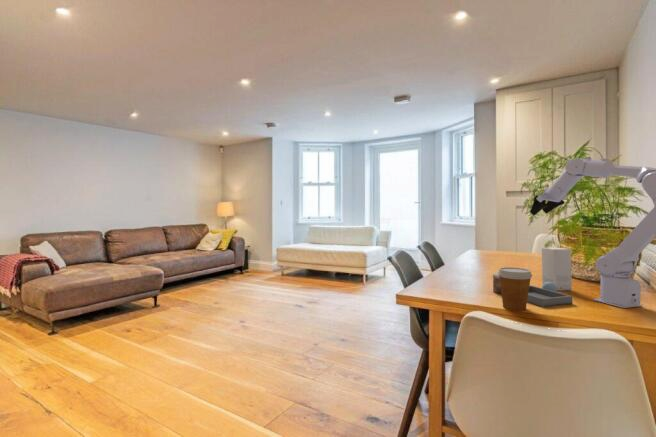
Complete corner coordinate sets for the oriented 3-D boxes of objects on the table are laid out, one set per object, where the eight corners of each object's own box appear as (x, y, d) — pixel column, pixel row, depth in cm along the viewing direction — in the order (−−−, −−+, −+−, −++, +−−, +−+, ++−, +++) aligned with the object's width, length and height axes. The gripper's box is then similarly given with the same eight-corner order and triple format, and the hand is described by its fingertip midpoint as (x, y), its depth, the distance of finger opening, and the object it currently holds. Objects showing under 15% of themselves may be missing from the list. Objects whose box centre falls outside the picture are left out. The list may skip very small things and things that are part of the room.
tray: (572, 303, 110) (572, 296, 110) (542, 307, 107) (542, 299, 107) (530, 292, 125) (530, 285, 125) (503, 294, 122) (504, 287, 122)
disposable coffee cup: (501, 301, 113) (501, 266, 113) (534, 307, 107) (534, 269, 107) (493, 308, 106) (494, 270, 105) (529, 314, 100) (529, 273, 99)
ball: (559, 295, 121) (559, 282, 121) (549, 295, 120) (549, 283, 120) (548, 292, 125) (548, 280, 125) (539, 292, 124) (539, 281, 124)
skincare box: (572, 290, 127) (572, 249, 126) (554, 291, 127) (554, 249, 126) (557, 285, 135) (557, 246, 135) (540, 285, 135) (541, 246, 135)
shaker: (510, 293, 124) (510, 275, 123) (499, 294, 122) (499, 276, 122) (500, 290, 128) (500, 273, 128) (489, 291, 127) (489, 274, 127)
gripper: (565, 178, 132) (542, 204, 141) (540, 180, 126) (519, 207, 135) (580, 190, 128) (556, 216, 137) (555, 193, 122) (531, 219, 131)
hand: (538, 212), depth 136 cm, fingers open, 7 cm apart
